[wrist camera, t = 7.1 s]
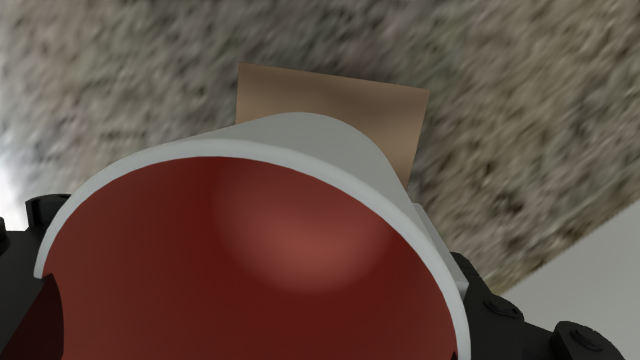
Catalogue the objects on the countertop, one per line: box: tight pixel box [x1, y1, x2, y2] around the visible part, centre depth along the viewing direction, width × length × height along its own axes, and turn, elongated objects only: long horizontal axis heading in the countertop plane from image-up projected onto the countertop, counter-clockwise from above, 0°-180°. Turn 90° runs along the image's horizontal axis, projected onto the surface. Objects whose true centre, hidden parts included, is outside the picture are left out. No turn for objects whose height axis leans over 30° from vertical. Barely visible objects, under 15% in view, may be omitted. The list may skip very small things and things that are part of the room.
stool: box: [235, 62, 431, 191], centre depth 27 cm, size 14×14×8 cm
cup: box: [34, 112, 471, 360], centre depth 11 cm, size 10×10×10 cm
